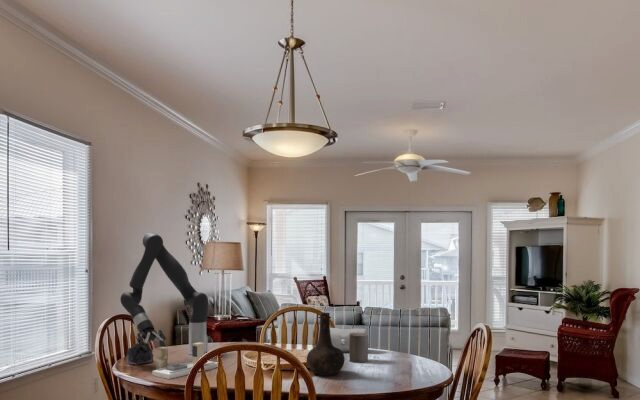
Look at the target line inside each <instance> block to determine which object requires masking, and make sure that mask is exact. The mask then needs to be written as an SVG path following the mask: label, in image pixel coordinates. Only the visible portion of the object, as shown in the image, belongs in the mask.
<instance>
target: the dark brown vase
mask: <svg viewBox="0 0 640 400" xmlns="http://www.w3.org/2000/svg"><path fill="white" fill-rule="evenodd" d="M330 314H331V313H330V312H320V313H319V315H320V316H318V317H317V318H318V319H320V320H319V331H318V332H319V333H318V339H317V343H316V345H315V346H314V347H313V348H312V349H311V350H309V352H308V353H307V356H306V364H307V367H308V368H309V370H310V371H311V372H312V373H314V374H316V375H318V376H333V375H335V374H338V373H339V372H340V371H341V370H342V369H343V367H344V364H345V355H344V352H342V351H341V350H340V349H338V348H336V347H334V346H333V345H332V342H331V335H330V328H331V327H330V326H331V325H330V319H331V318H332V316H330Z"/></svg>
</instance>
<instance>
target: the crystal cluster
mask: <svg viewBox="0 0 640 400" xmlns="http://www.w3.org/2000/svg"><path fill="white" fill-rule="evenodd" d="M125 359H126V364H130V365H132V364H135V365H134V366H136V365H140V364H149V363H152V362H153V361H154V354H153V350H152V349H151V350H150V352H147V351H146V349H145V347H144V346H142V345H141V346H140V345H139V343H138V342H136V343H134V344H132V345H131V346H130V347H129V348H128V349H127V350H126V358H125Z"/></svg>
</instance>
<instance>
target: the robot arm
mask: <svg viewBox="0 0 640 400" xmlns="http://www.w3.org/2000/svg"><path fill="white" fill-rule="evenodd" d="M142 245H143V247H144V252H143V256H142V258H141V260H140V262H139V263H138V264H137V266H136V267H135V270H134V272H133V273H132V276H131V277H130V282H129V287H130V288H132V292H131V291H125V292H122V294H121V296H120V303H121V306H122V307H123V308H124V309H125V310H126V311H127V312H128V313H129V315H130V317H131V318H132V321H133V323H134V324H133V325H135V327H136V329H137V332H138V333H137V334H136V336H135V338H136V341H137V343H138V344H139V345H140V346H141V345H142V346H144V347H145V349H146V351H147V352H150V350H152V348H151V346H150V344H149V343H148V342H157V343H158V344H159V347H167V345H166V344H165V340H166V339H167V338H166V336H165V334H164V333H163V331H162V330H161V329H159V330H158V331H156V330H155V326H154V324H153V323H152V320H151V319H150V316H149V315H148V314H147V312H146V311H145V309H144V306H142V305H141V302H142V297H143V290H144V288H143V287H144V285H145V283H146V280H147V278H148V274H149V272H150V271H151V268H152V265H153V263H154V261H155V260H156V261H157V263H158V265H159V266H160V268H161V270H162V271H163V272H164V274H165V276H166V277H167V278H168V279H169V280H170V282H172V284H173V285H174V287H175V288H176V289H177V290H178V292H179V293H180V294H181V296H182V297H183V299H184V301H185V302H186V305H188V307H189V308H191V309H192V314H191V316H189V318H188V319H189V320H188V322H189V323H188V324H189V325H188V354H189V355H191V356H192V346H193V343H198V342H200V343H204V355H206V354H207V353H208V345H209V343H208V339H209V337H208V334H207V318H208V315H209V298H208V296H207V294H206V293H204V292H198V291H197V290H196V289H195V288H194V287H193V286H192V283H190V281H189V276H188V273H187V272H186V270H185V268H184V267H183V265H182V264H181V263H180V262H179V261H178V260H177V259H176V258H175V257H174V255H172V254H171V252H169V251H168V250H167V248H166V247H165V245H164V240H163V237H162V236H161V235H159V234H158V233H155V232H147V233H146V234H144V235H143V238H142ZM206 352H207V353H206Z"/></svg>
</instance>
